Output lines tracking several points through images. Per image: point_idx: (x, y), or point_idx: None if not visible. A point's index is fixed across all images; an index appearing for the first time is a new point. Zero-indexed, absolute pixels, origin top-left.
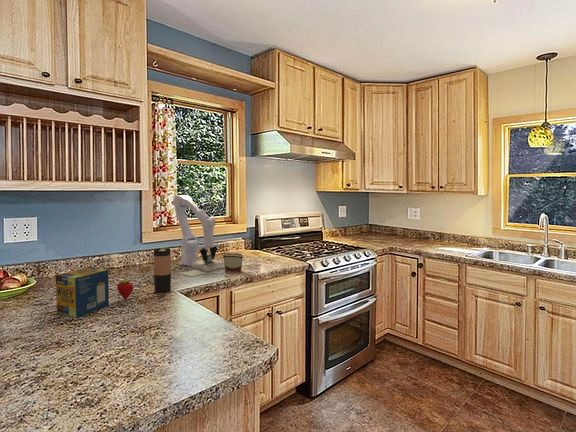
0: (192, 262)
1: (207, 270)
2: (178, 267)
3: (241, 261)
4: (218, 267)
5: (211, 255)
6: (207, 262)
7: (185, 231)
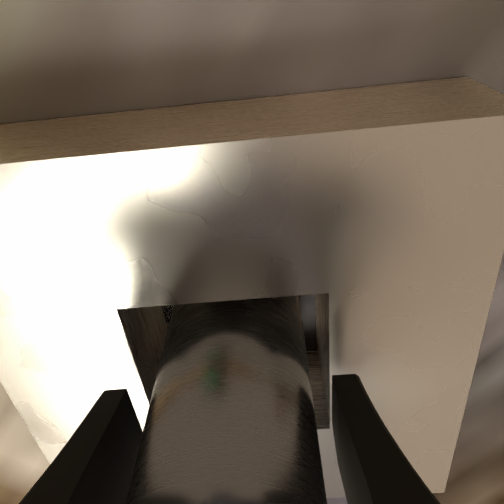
0: (444, 480)
1: (461, 83)
2: (495, 490)
3: None
4: (139, 119)
5: (187, 471)
6: (295, 344)
7: None
